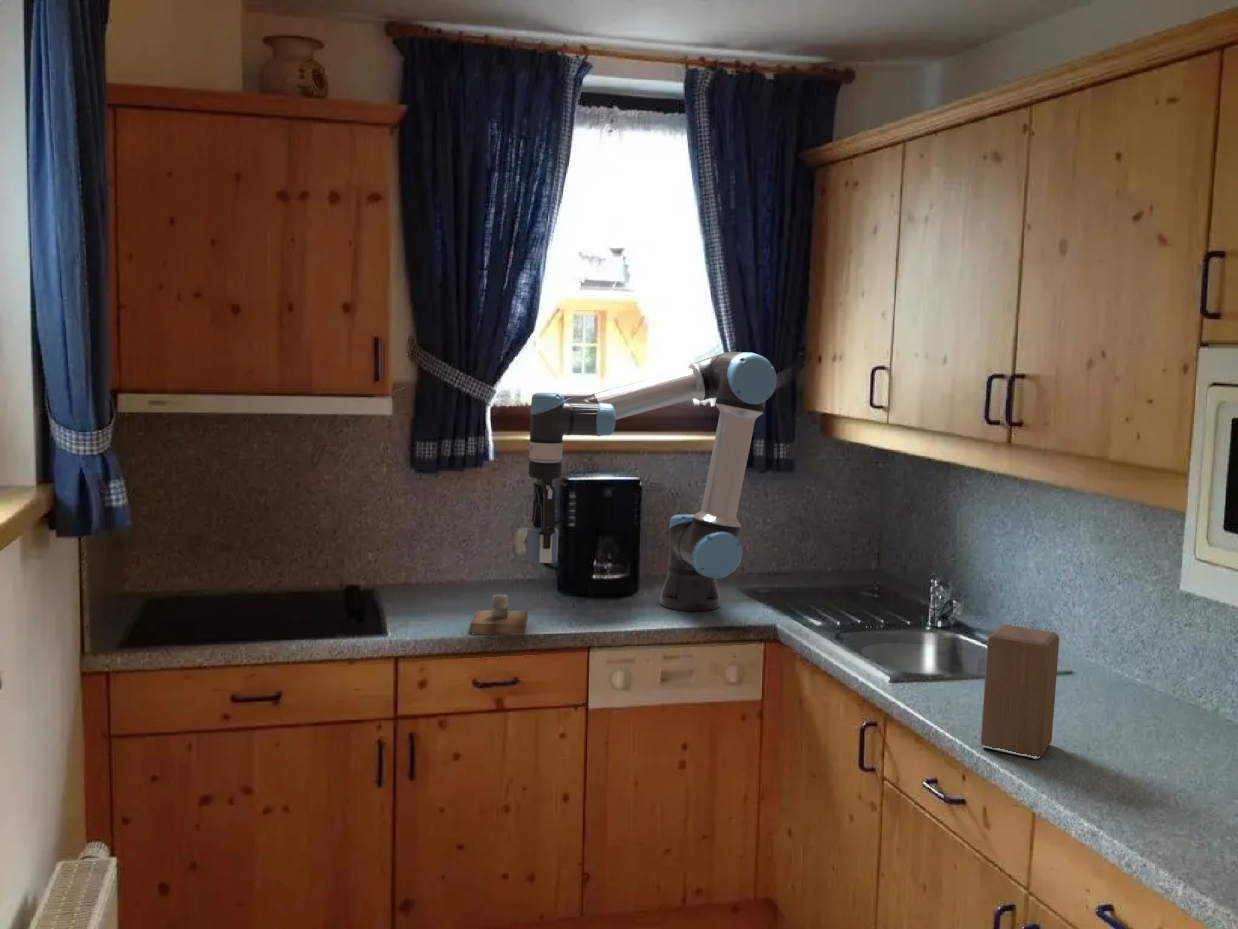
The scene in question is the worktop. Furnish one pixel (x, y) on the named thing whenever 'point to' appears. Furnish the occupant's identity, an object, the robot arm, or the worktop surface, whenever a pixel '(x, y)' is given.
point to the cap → (534, 545)
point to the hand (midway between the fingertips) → (541, 558)
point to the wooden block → (1019, 689)
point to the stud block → (499, 619)
